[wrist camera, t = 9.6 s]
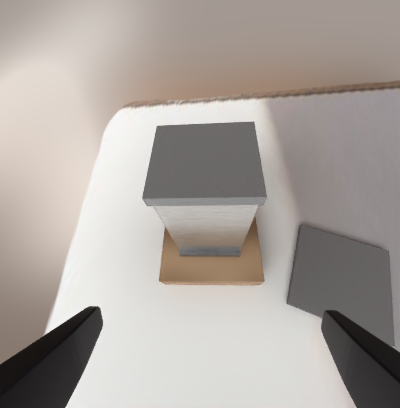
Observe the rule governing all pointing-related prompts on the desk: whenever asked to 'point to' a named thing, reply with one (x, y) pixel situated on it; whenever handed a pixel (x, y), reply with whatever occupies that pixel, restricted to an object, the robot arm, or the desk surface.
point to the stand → (213, 265)
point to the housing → (206, 185)
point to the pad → (343, 280)
